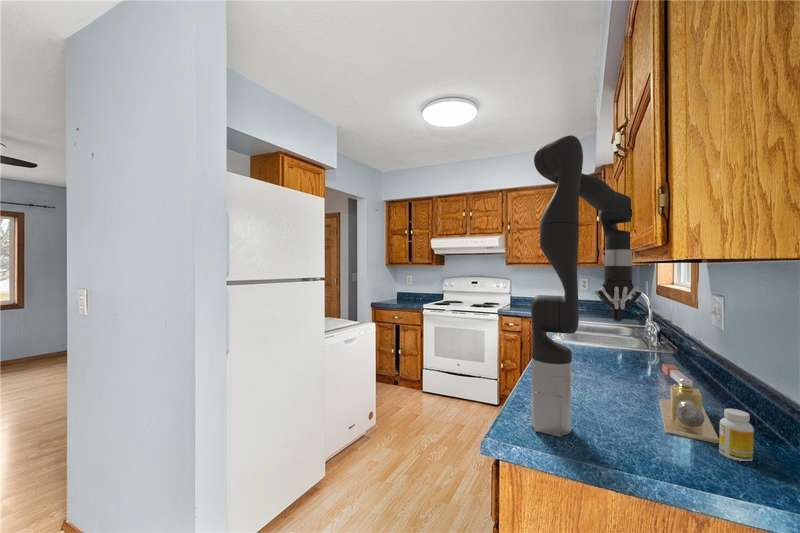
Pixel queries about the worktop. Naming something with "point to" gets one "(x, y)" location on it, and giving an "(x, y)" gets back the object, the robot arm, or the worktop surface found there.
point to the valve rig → (687, 415)
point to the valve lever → (677, 375)
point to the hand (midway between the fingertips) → (617, 321)
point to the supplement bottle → (736, 435)
